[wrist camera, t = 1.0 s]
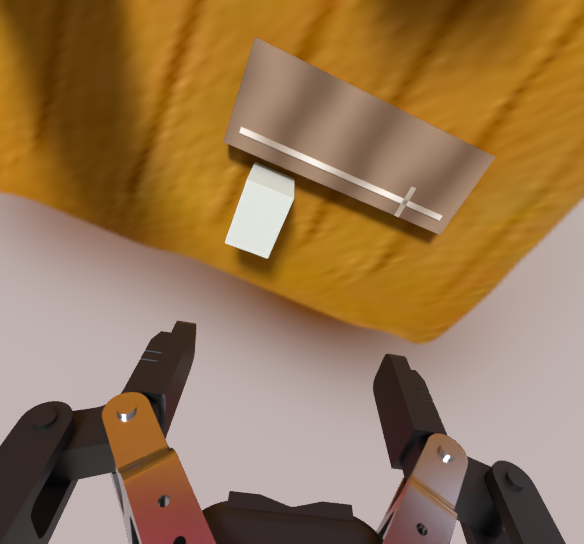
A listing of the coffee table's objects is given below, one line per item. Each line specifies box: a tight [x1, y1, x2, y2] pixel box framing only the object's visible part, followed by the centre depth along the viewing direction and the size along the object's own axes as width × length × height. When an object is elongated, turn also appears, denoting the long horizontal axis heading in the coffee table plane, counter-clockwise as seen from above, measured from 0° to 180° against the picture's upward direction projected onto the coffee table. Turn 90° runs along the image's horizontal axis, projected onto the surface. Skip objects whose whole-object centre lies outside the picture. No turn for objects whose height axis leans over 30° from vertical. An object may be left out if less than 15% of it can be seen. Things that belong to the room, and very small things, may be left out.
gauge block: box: [225, 162, 294, 259], centre depth 31 cm, size 4×6×6 cm, turn 157°
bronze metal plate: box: [224, 37, 495, 235], centre depth 30 cm, size 22×8×2 cm, turn 67°
